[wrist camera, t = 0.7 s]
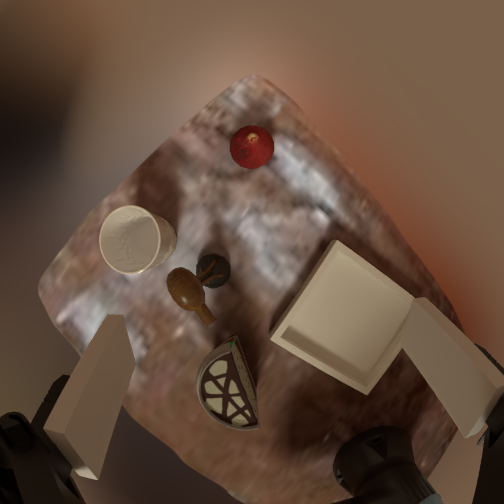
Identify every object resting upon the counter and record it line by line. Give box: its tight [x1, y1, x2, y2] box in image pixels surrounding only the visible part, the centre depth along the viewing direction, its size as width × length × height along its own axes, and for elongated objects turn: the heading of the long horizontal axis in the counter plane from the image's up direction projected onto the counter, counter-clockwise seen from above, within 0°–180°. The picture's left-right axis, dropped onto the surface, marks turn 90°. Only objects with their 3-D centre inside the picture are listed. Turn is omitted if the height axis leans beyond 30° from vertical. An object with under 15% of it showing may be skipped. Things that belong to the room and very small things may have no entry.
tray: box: [269, 240, 414, 395], centre depth 42 cm, size 18×16×3 cm
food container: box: [196, 335, 260, 430], centre depth 38 cm, size 12×6×10 cm, turn 17°
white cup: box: [99, 205, 177, 274], centre depth 38 cm, size 8×8×10 cm
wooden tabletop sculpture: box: [166, 253, 230, 326], centre depth 33 cm, size 6×5×20 cm
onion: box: [230, 126, 274, 169], centre depth 38 cm, size 6×6×8 cm
